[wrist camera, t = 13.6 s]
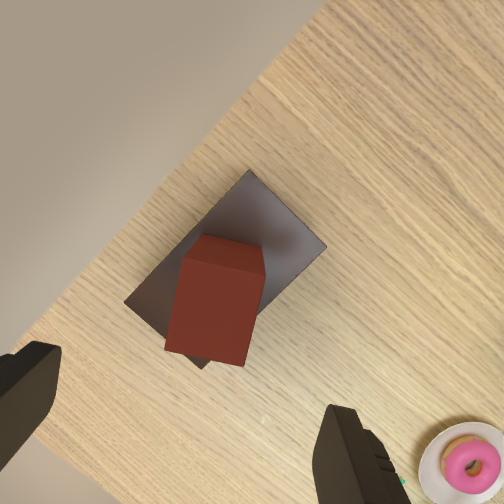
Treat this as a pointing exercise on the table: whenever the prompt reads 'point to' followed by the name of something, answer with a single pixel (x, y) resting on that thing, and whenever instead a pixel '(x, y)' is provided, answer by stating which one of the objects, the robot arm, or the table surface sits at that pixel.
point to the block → (240, 230)
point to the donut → (463, 464)
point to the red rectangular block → (217, 300)
